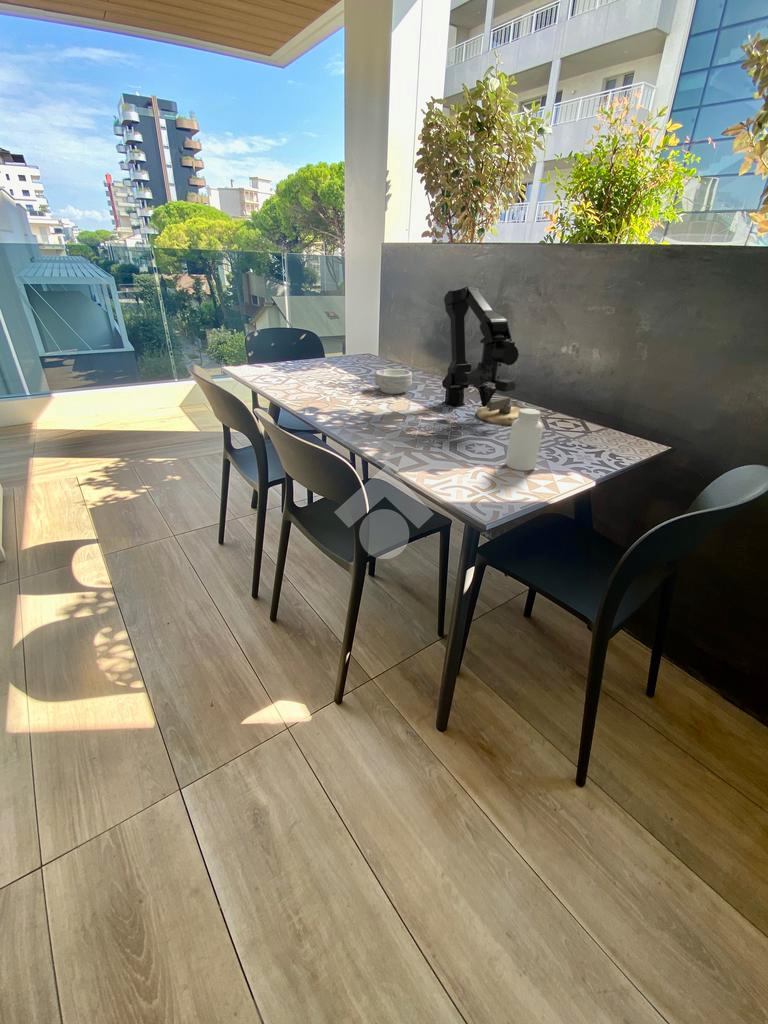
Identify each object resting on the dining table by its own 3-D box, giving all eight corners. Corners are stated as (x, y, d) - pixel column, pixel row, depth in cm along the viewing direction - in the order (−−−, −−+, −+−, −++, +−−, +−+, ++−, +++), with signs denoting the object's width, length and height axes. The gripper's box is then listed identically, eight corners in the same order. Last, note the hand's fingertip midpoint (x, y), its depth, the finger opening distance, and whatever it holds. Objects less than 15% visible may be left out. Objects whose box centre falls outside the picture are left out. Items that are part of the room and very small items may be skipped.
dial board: (465, 414, 160) (466, 409, 160) (498, 406, 172) (498, 401, 171) (510, 428, 148) (511, 423, 147) (542, 418, 159) (543, 413, 158)
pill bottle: (500, 460, 124) (509, 406, 117) (529, 459, 125) (539, 406, 118) (510, 471, 117) (520, 415, 110) (540, 471, 118) (552, 415, 111)
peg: (503, 409, 161) (505, 395, 159) (512, 412, 159) (515, 398, 156) (476, 417, 153) (478, 402, 150) (485, 419, 150) (487, 405, 148)
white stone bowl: (373, 386, 193) (373, 367, 189) (408, 386, 195) (409, 368, 191) (376, 396, 180) (376, 375, 176) (414, 396, 181) (415, 376, 177)
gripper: (452, 357, 148) (448, 404, 156) (498, 367, 136) (491, 417, 144) (474, 354, 155) (468, 399, 162) (520, 363, 143) (512, 411, 150)
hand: (484, 406), depth 154 cm, fingers closed
